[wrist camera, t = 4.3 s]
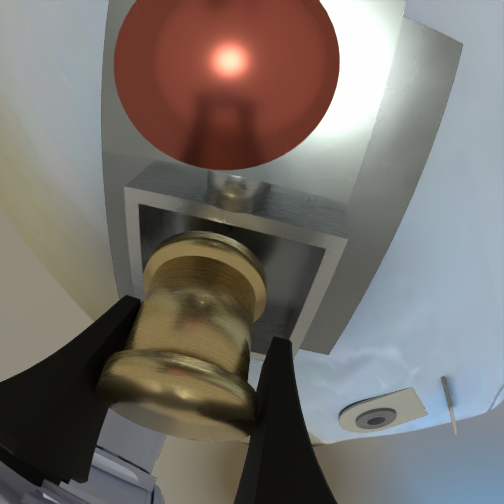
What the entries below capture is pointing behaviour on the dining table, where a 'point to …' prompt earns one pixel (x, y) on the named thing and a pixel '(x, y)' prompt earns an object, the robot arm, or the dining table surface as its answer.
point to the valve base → (321, 163)
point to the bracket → (388, 411)
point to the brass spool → (191, 341)
